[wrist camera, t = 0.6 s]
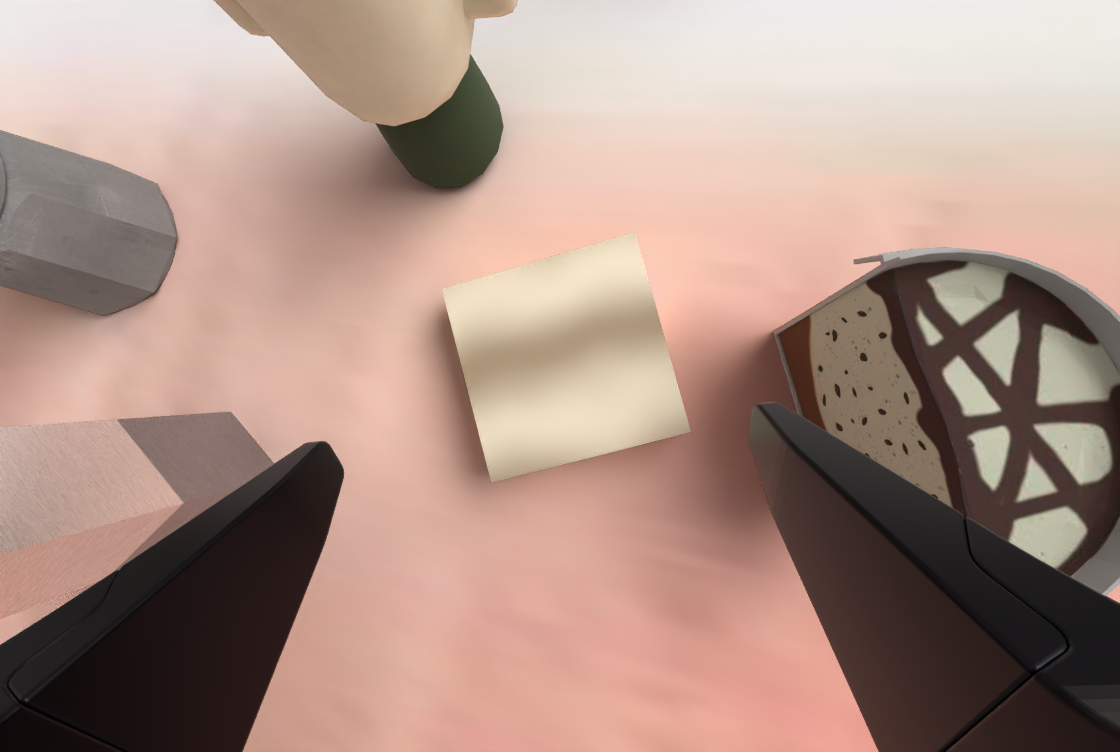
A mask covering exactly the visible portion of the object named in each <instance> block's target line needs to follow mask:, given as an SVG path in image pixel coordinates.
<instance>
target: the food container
mask: <svg viewBox="0 0 1120 752" xmlns="http://www.w3.org/2000/svg"><path fill="white" fill-rule="evenodd" d="M876 261H880V262H881V265H880V266H878V267H877V268H875V269H873V270H872V271H870V272H868V273H867V274H865V275H864V276H862V277H860V278H859V279H857V280H855V281H854V282H852V283H851V284H849V285H847V286H846V287H844V288H842V289H841V290H839V291H838V292H836V293H834V294H833V295H831V296H829V297H828V298H826V299H825V300H823V301H821V302H820V303H818V304H816V305H815V306H813V307H812V308H810V309H808V310H807V311H805V312H804V313H802V314H800V315H799V316H797V317H795V318H794V319H792V320H791V321H789V322H787V323H786V324H784V325H782V326H781V327H779V328H778V329H776V330H774V331H773V333H774V337H775V340H776V343H777V347H778V350H779V354H780V357H781V360H782V364H783V367H784V370H785V374H786V377H787V380H788V384H789V387H790V390H791V394H792V397H793V400H794V404H795V407H796V410H797V414H799V415H800V416H802V417H804V418H805V419H807V420H809V421H810V422H812V423H814V424H815V425H817V426H819V427H820V428H822V429H824V430H825V431H827V432H828V433H830V434H832V435H833V436H835V437H837V438H838V439H840V440H842V441H843V442H845V443H847V444H848V445H850V446H851V447H853V448H855V449H856V450H858V451H860V452H861V453H863V454H865V455H866V456H868V457H870V458H871V459H873V460H875V461H876V462H878V463H879V464H881V465H883V466H884V467H886V468H888V469H889V470H891V471H893V472H894V473H896V474H898V475H899V476H901V477H903V478H904V479H906V480H907V481H909V482H911V483H912V484H914V485H916V486H917V487H919V488H921V489H922V490H924V491H926V492H927V493H929V494H931V495H932V496H934V497H935V498H937V499H939V500H940V501H942V502H944V503H945V504H947V505H949V506H950V507H952V508H954V509H955V510H957V511H959V512H960V513H962V514H963V516H964V518H966V517H968V518H970V519H972V520H974V521H975V522H977V523H979V524H980V525H982V526H984V527H985V528H987V529H988V530H990V531H992V532H993V533H995V534H997V535H998V536H1000V537H1002V538H1004V539H1005V540H1007V541H1009V542H1010V543H1012V544H1014V545H1016V546H1017V547H1019V548H1021V549H1022V550H1024V551H1026V552H1027V553H1029V554H1031V555H1033V556H1034V557H1036V558H1038V559H1039V560H1041V561H1043V562H1045V563H1047V564H1048V565H1050V566H1052V567H1054V568H1056V569H1058V570H1059V571H1061V572H1063V573H1065V574H1067V575H1068V576H1070V577H1072V578H1074V579H1076V580H1078V581H1079V582H1081V583H1083V584H1085V585H1087V586H1088V587H1090V588H1092V589H1094V590H1096V591H1098V592H1100V593H1101V594H1103V595H1105V596H1107V595H1108V594H1109V593H1110V592H1111V591H1112V590H1113V589H1114V588H1115V587H1116V586H1117V585H1118V584H1119V583H1120V316H1119V315H1118V314H1117V313H1116V312H1115V311H1114V310H1113V309H1112V308H1111V307H1110V306H1108V305H1107V304H1106V303H1104V302H1103V301H1102V300H1101V299H1099V298H1098V297H1097V296H1096V295H1094V294H1093V293H1092V292H1091V291H1089V290H1088V289H1087V288H1085V287H1083V286H1082V285H1080V284H1078V283H1077V282H1075V281H1073V280H1071V279H1070V278H1068V277H1066V276H1064V275H1063V274H1061V273H1059V272H1057V271H1055V270H1052V269H1050V268H1047V267H1044V266H1042V265H1039V264H1037V263H1034V262H1032V261H1029V260H1027V259H1022V258H1018V257H1014V256H1009V255H1005V254H1001V253H997V252H989V251H980V250H971V249H960V248H949V247H940V248H922V249H910V250H903V251H897V252H891V253H885V254H879V255H875V256H870V257H865V258H860V259H855V260H854V264H861V263H868V262H876Z"/></svg>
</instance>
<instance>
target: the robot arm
mask: <svg viewBox="0 0 1120 752" xmlns="http://www.w3.org/2000/svg"><path fill="white" fill-rule="evenodd" d="M749 443H750V447H751V450H752V453H753V456H754V460H755V463H756V466H757V469H758V472H759V475H760V479H761V482H762V485H763V488H764V491H765V495H766V498H767V501H768V504H769V507H770V510H771V513H772V515H773V518H774V520H775V522H776V525H777V527H778V529H779V531H780V534H781V536H782V538H783V540H784V542H785V545H786V547H787V549H788V551H789V554H790V556H791V558H792V560H793V562H794V565H795V567H796V569H797V571H798V574H799V576H800V578H801V580H802V582H803V585H804V587H805V589H806V591H807V594H808V596H809V598H810V600H811V602H812V605H813V607H814V609H815V611H816V614H817V616H818V618H819V620H820V622H821V625H822V627H823V629H824V631H825V634H826V636H827V638H828V640H829V642H830V645H831V647H832V649H833V651H834V653H835V656H836V658H837V660H838V662H839V665H840V667H841V669H842V671H843V673H844V676H845V678H846V680H847V682H848V685H849V687H850V689H851V691H852V693H853V696H854V698H855V700H856V702H857V705H858V707H859V709H860V711H861V713H862V716H863V718H864V720H865V722H866V725H867V727H868V729H869V731H870V733H871V736H872V738H873V740H874V742H875V745H876V747H877V749H878V751H879V752H1120V603H1118V602H1116V601H1114V600H1113V599H1111V598H1109V597H1107V596H1105V595H1103V594H1101V593H1100V592H1098V591H1096V590H1094V589H1092V588H1090V587H1088V586H1087V585H1085V584H1083V583H1081V582H1079V581H1078V580H1076V579H1074V578H1072V577H1070V576H1068V575H1067V574H1065V573H1063V572H1061V571H1059V570H1058V569H1056V568H1054V567H1052V566H1050V565H1048V564H1047V563H1045V562H1043V561H1041V560H1039V559H1038V558H1036V557H1034V556H1033V555H1031V554H1029V553H1027V552H1026V551H1024V550H1022V549H1021V548H1019V547H1017V546H1016V545H1014V544H1012V543H1010V542H1009V541H1007V540H1005V539H1004V538H1002V537H1000V536H998V535H997V534H995V533H993V532H992V531H990V530H988V529H987V528H985V527H984V526H982V525H980V524H979V523H977V522H975V521H974V520H972V519H970V518H968V517H966V518H964V516H963V514H962V513H960V512H959V511H957V510H955V509H954V508H952V507H950V506H949V505H947V504H945V503H944V502H942V501H940V500H939V499H937V498H935V497H934V496H932V495H931V494H929V493H927V492H926V491H924V490H922V489H921V488H919V487H917V486H916V485H914V484H912V483H911V482H909V481H907V480H906V479H904V478H903V477H901V476H899V475H898V474H896V473H894V472H893V471H891V470H889V469H888V468H886V467H884V466H883V465H881V464H879V463H878V462H876V461H875V460H873V459H871V458H870V457H868V456H866V455H865V454H863V453H861V452H860V451H858V450H856V449H855V448H853V447H851V446H850V445H848V444H847V443H845V442H843V441H842V440H840V439H838V438H837V437H835V436H833V435H832V434H830V433H828V432H827V431H825V430H824V429H822V428H820V427H819V426H817V425H815V424H814V423H812V422H810V421H809V420H807V419H805V418H804V417H802V416H800V415H799V414H797V413H796V412H794V411H792V410H791V409H789V408H787V407H786V406H784V405H782V404H781V403H779V402H776V401H772V402H760V403H756V404H755V405H754V407H753V410H752V416H751V423H750V429H749ZM343 478H344V469H343V466H342V464H341V463H340V461H339V459H338V458H337V456H336V454H335V453H334V451H333V449H332V448H331V446H330V445H329V444H328V443H327V442H324V441H318V442H308V443H305V444H303V445H302V446H300V447H299V448H297V449H296V450H294V451H293V452H291V453H290V454H288V455H287V456H285V457H284V458H282V459H281V460H279V461H278V462H276V463H275V464H273V465H272V466H270V467H269V468H267V469H266V470H264V471H263V472H261V473H260V474H258V475H257V476H256V477H254V478H253V479H251V480H250V481H248V482H247V483H245V484H244V485H242V486H241V487H239V488H238V489H236V490H235V491H233V492H232V493H230V494H229V495H227V496H226V497H224V498H223V499H221V500H220V501H218V502H217V503H215V504H214V505H212V506H211V507H209V508H208V509H206V510H205V511H203V512H202V513H200V514H199V515H197V516H196V517H194V518H193V519H191V520H190V521H188V522H187V523H185V524H184V525H183V526H181V527H180V528H178V529H177V530H175V531H174V532H172V533H171V534H169V535H168V536H166V537H165V538H163V539H162V540H160V541H159V542H157V543H156V544H154V545H153V546H151V547H150V548H148V549H147V550H145V551H144V552H142V553H141V554H139V555H138V556H136V557H135V558H133V559H132V560H130V561H129V562H127V563H126V564H124V565H123V566H122V567H121V568H120V570H115V571H114V572H112V573H111V574H109V575H108V576H106V577H105V578H103V579H102V580H100V581H99V582H97V583H96V584H94V585H93V586H91V587H90V588H88V589H87V590H85V591H84V592H82V593H81V594H79V595H78V596H76V597H75V598H73V599H72V600H70V601H69V602H67V603H66V604H64V605H63V606H61V607H59V608H58V609H56V610H55V611H53V612H52V613H50V614H49V615H47V616H45V617H44V618H42V619H41V620H39V621H37V622H36V623H34V624H33V625H31V626H30V627H28V628H26V629H25V630H23V631H22V632H20V633H18V634H17V635H15V636H14V637H12V638H10V639H9V640H7V641H6V642H4V643H2V644H1V645H0V752H243V749H244V747H245V744H246V742H247V739H248V737H249V734H250V732H251V729H252V727H253V724H254V722H255V719H256V717H257V714H258V711H259V709H260V706H261V704H262V701H263V699H264V696H265V694H266V691H267V689H268V686H269V684H270V681H271V679H272V676H273V674H274V671H275V669H276V666H277V663H278V661H279V658H280V656H281V653H282V651H283V648H284V646H285V643H286V641H287V638H288V636H289V633H290V631H291V628H292V626H293V623H294V621H295V618H296V615H297V613H298V610H299V608H300V605H301V603H302V600H303V598H304V595H305V593H306V590H307V588H308V585H309V583H310V580H311V578H312V575H313V572H314V570H315V567H316V565H317V562H318V560H319V557H320V555H321V552H322V549H323V547H324V544H325V541H326V538H327V535H328V532H329V528H330V525H331V521H332V517H333V514H334V510H335V507H336V503H337V500H338V496H339V493H340V489H341V486H342V482H343Z"/></svg>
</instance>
